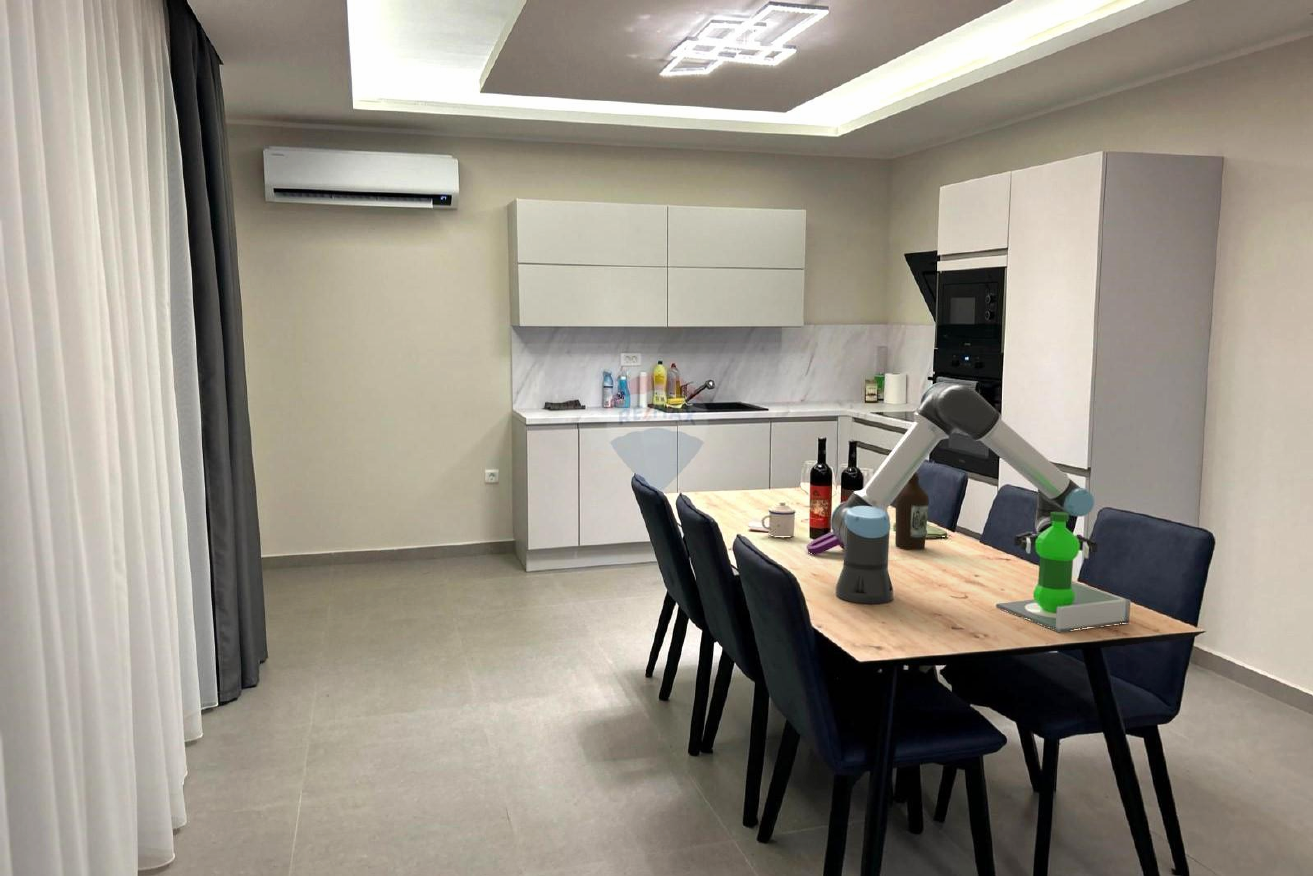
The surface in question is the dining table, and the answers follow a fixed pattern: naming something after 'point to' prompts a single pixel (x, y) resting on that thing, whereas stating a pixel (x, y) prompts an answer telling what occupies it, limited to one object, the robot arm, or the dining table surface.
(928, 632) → the dining table surface
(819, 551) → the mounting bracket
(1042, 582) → the plastic bottle
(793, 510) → the teacup with lid
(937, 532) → the washcloth
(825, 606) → the dining table surface
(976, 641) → the dining table surface
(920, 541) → the olive oil
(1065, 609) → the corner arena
